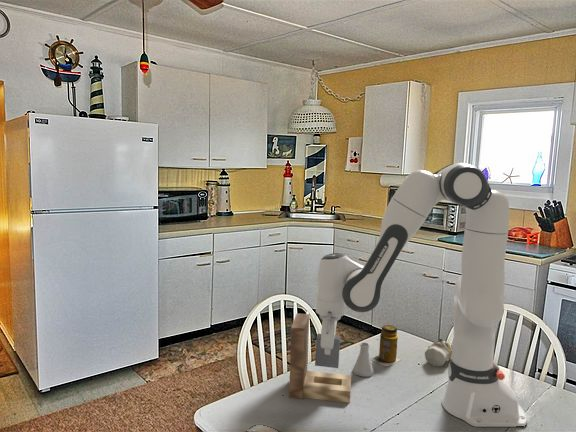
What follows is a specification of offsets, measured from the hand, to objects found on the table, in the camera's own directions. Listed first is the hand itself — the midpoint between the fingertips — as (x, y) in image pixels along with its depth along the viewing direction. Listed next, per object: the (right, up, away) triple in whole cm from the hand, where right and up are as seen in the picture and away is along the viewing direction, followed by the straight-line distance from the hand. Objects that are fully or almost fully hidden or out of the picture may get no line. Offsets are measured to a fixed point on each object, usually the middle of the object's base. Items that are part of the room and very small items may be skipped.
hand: (328, 350), depth 140 cm
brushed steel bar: (0, -5, +1) cm, 5 cm away
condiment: (+23, -11, +24) cm, 35 cm away
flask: (+13, -12, +15) cm, 23 cm away
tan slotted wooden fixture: (-2, -13, +2) cm, 13 cm away
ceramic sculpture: (+42, -11, +25) cm, 50 cm away
